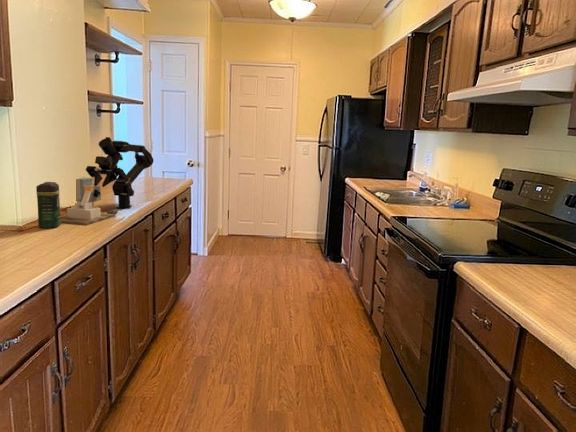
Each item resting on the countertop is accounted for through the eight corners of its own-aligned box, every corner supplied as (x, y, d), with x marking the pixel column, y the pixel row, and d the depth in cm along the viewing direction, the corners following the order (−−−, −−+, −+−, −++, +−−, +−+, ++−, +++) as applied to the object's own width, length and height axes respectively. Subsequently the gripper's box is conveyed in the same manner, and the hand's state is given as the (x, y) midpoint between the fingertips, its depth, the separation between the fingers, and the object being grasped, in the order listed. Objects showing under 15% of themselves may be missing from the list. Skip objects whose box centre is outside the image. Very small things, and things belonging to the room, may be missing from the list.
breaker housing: (77, 214, 208) (76, 200, 207) (100, 216, 206) (100, 202, 205) (67, 217, 202) (66, 202, 200) (90, 219, 199) (90, 204, 198)
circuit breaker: (95, 209, 225) (93, 180, 222) (69, 207, 228) (68, 178, 225) (104, 207, 232) (102, 178, 230) (79, 205, 235) (77, 176, 232)
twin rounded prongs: (96, 211, 222) (96, 207, 222) (118, 213, 219) (118, 209, 219) (87, 213, 215) (87, 209, 215) (109, 215, 213) (109, 211, 212)
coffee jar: (57, 228, 185) (54, 183, 181) (36, 229, 183) (33, 183, 179) (63, 223, 194) (60, 180, 190) (43, 223, 192) (40, 180, 188)
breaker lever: (81, 208, 204) (87, 187, 207) (87, 208, 203) (93, 188, 206) (78, 206, 202) (85, 185, 205) (85, 207, 201) (91, 186, 204)
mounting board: (81, 213, 215) (81, 211, 215) (114, 216, 212) (114, 214, 211) (51, 221, 196) (51, 219, 196) (87, 225, 192) (87, 222, 192)
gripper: (86, 149, 216) (72, 174, 208) (121, 151, 212) (108, 176, 204) (97, 164, 225) (84, 188, 217) (131, 166, 221) (119, 191, 213)
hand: (98, 186), depth 212 cm, fingers open, 4 cm apart
